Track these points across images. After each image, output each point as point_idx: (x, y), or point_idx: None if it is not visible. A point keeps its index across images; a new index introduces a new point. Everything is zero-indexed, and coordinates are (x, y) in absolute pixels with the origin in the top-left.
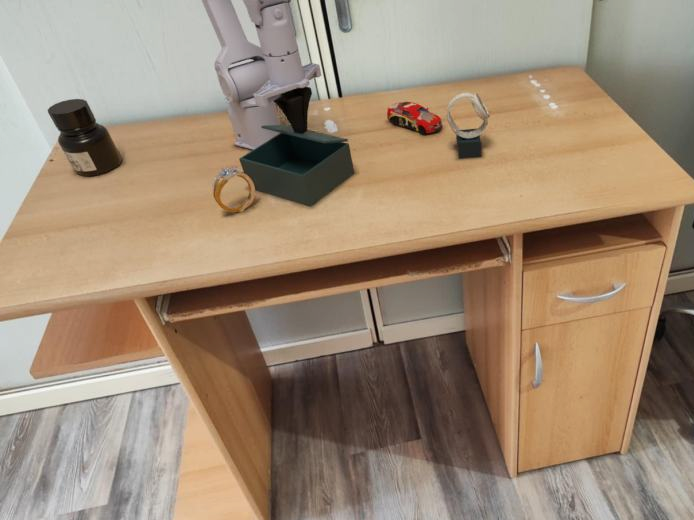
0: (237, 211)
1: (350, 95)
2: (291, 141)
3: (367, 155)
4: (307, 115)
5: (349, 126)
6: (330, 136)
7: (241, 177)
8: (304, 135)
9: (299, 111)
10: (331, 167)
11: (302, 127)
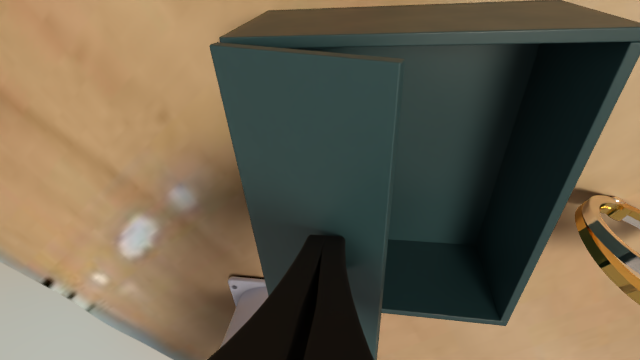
0: (631, 206)
1: (27, 269)
2: None
3: (153, 53)
4: (280, 285)
5: (99, 203)
6: (254, 135)
7: (628, 270)
8: (368, 218)
9: (338, 338)
10: (390, 21)
11: (340, 256)
